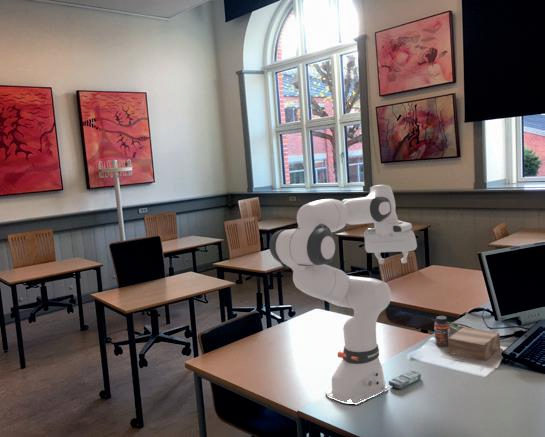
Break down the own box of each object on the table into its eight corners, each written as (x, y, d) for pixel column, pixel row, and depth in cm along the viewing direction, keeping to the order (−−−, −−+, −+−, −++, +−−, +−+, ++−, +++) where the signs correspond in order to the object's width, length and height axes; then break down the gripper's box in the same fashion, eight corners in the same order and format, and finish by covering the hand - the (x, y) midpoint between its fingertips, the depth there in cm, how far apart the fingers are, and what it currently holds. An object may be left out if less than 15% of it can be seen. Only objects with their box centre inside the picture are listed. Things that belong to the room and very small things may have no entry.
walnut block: (485, 360, 180) (483, 345, 180) (449, 352, 191) (447, 338, 190) (500, 347, 190) (499, 332, 189) (465, 341, 200) (464, 326, 199)
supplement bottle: (434, 346, 199) (432, 319, 197) (436, 340, 204) (434, 314, 202) (449, 347, 196) (447, 320, 194) (451, 341, 201) (449, 315, 200)
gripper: (358, 230, 188) (364, 265, 189) (407, 226, 174) (413, 264, 175) (367, 227, 192) (373, 261, 193) (415, 223, 178) (421, 260, 179)
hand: (392, 263), depth 184 cm, fingers open, 8 cm apart
